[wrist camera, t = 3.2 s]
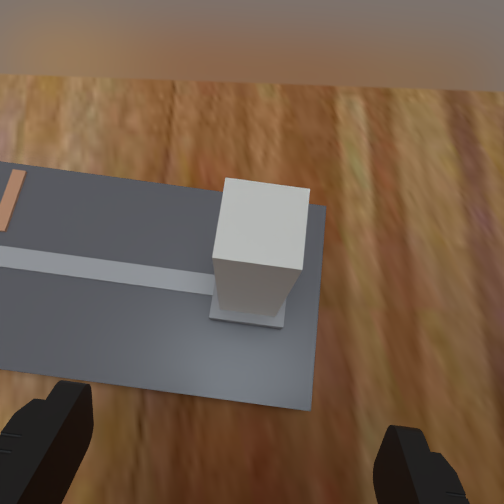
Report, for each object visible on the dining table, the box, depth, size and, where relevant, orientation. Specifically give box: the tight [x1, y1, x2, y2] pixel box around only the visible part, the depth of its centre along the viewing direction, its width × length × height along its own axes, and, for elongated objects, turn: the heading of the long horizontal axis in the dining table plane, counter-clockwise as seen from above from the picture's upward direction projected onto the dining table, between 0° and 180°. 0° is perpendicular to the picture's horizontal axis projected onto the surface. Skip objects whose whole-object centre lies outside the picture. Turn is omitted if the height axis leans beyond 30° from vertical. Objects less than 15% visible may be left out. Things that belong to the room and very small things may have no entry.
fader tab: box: [209, 178, 310, 329], centre depth 18 cm, size 4×4×10 cm
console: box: [0, 161, 326, 411], centre depth 25 cm, size 23×12×3 cm, turn 83°
